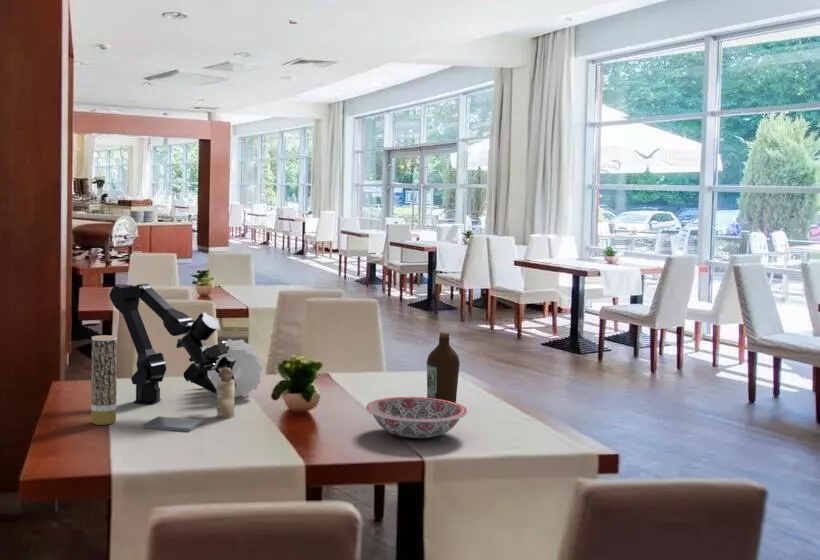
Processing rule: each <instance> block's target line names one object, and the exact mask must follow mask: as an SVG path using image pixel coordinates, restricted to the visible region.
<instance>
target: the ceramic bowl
mask: <svg viewBox="0 0 820 560" xmlns="http://www.w3.org/2000/svg"><path fill="white" fill-rule="evenodd" d="M365 410H366V411H367V412H368V413H370V414H371V415H373V417H374V419H375V421H376V423H377V424H378V425H379V426H380V427H381V428H382V429H384V430H385V431H386V432H388V433H390V434H393V435H396V436H399V437H403V438H413V439H426V438H427V439H428V438H434V437H439V436H441V435H444V434H447V433H448V432H449V431H451V430H452V429H453V428H454V427H455V426H456V425H457V423H458V422H459V421H460V419H461V418H464V417H465V416H466V415H468V409H467V408H466V407H465V406H463V405H462V404H460V403H457V402H456V403H455V402H451V401H447V400H442V399H435V398H427V396H426V397H425V396H423V397H421V396H394V397H393V396H392V397H384V398H379V399H376V400H373V401H371V402H368V403H367V405H366V406H365Z"/></svg>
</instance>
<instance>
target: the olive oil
mask: <svg viewBox="0 0 820 560" xmlns="http://www.w3.org/2000/svg"><path fill="white" fill-rule="evenodd" d="M459 372H460V358H459V355H458V353H456V351H455V350H454V349H453V347H452V346H451V345H450V332H444V331H442V332H439V337H438V345H437V346H436V347H434V349H432V350H431V351H430V353H429V354H428V356H427V359H426V398H435V399H442V400H447V401H451V402H455V403H457V397H458V396H457V394H458V393H457V392H458V385H459V384H458V383H459Z"/></svg>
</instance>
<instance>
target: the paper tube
mask: <svg viewBox="0 0 820 560" xmlns="http://www.w3.org/2000/svg"><path fill="white" fill-rule="evenodd" d="M117 352H118V338H117V336H116V335H112V334H111V335H107V334H102V335H101V334H100V335H94V336H91V382H90V383H91V388H90V389H91V392H90V393H91V396H90V397H91V402H90V403H91V406H90V409H91V410H90V411H91V413H90V414H91V415H90V417H91V418H90V423H92V425H97V426H106V425H107V426H108V424H109V425H112V424H114V423H115V422H116V421H117V377H118V376H117V375H118V374H117V369H118V368H117V367H118V366H117V363H118V361H117V360H118V359H117V357H118V355H117V354H118V353H117Z"/></svg>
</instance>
